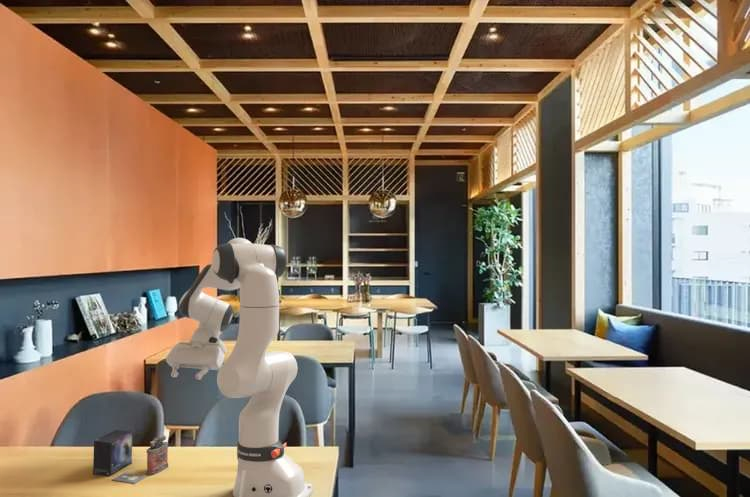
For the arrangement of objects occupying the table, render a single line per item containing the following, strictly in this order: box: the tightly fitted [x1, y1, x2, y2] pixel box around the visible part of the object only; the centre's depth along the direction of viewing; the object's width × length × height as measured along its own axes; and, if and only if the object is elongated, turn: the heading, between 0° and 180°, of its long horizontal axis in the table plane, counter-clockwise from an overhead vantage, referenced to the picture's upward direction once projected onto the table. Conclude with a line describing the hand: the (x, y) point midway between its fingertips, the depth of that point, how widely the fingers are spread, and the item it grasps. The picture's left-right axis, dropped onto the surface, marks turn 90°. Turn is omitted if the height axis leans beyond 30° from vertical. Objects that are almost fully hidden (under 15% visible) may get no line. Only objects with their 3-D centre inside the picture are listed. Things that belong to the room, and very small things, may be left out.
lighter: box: [146, 435, 169, 477], centre depth 167 cm, size 8×3×10 cm, turn 161°
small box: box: [92, 429, 133, 477], centre depth 168 cm, size 11×6×10 cm, turn 168°
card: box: [111, 472, 148, 484], centre depth 161 cm, size 8×5×1 cm, turn 74°
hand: (185, 377), depth 181 cm, fingers open, 8 cm apart
